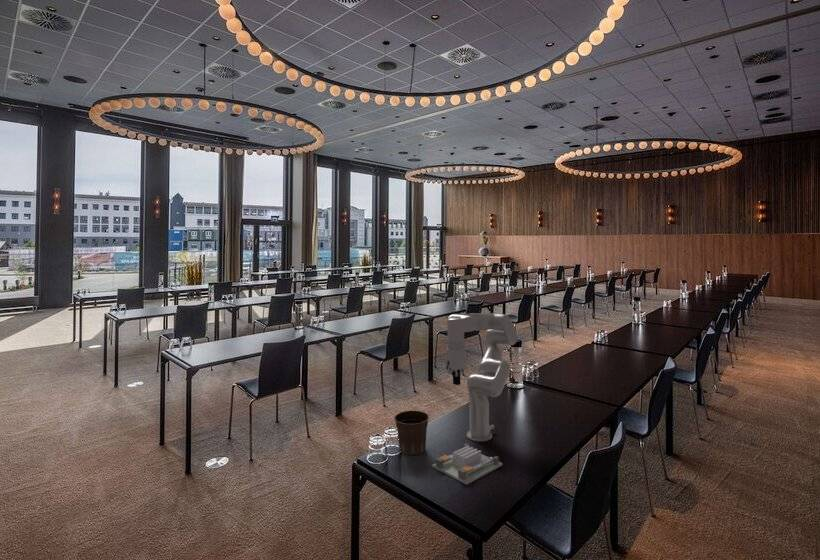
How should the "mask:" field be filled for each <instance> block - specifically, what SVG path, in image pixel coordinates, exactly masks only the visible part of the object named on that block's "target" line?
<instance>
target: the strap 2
mask: <svg viewBox="0 0 820 560" xmlns="http://www.w3.org/2000/svg"><path fill="white" fill-rule="evenodd" d="M488 457H489V458H487V459H485V460H483V461H481V462H479V463H477V464H474V465H472V466H469V465H467V466H465V467H463V468H461V469H463V470H465V471H466V475H467V474H469V473H471V472H473V471H475V470H477V469H479V468H481V467H483V466H485V465H487V464H489V463H491V462H493V461H494V459H493V457H494V456H488Z"/></svg>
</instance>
